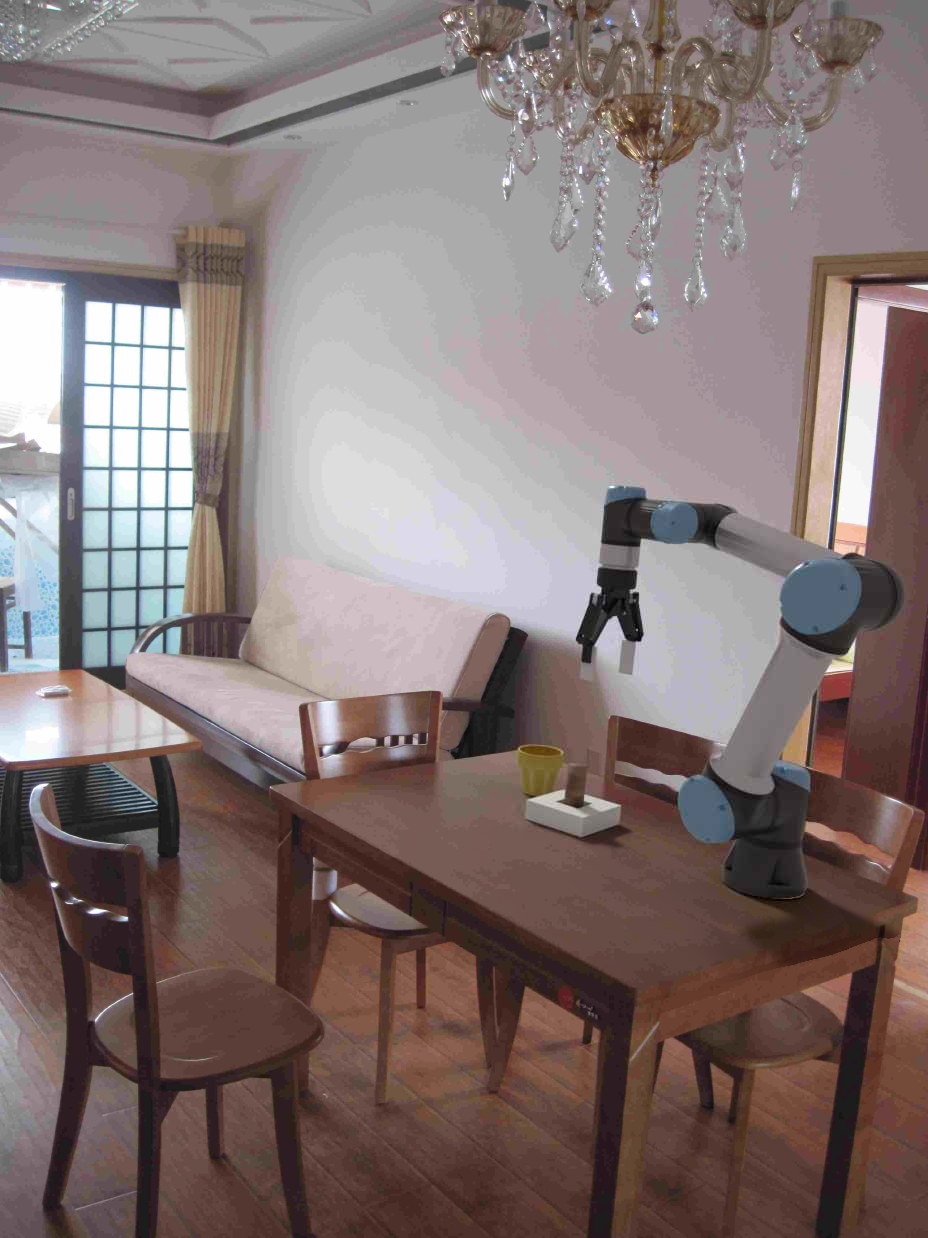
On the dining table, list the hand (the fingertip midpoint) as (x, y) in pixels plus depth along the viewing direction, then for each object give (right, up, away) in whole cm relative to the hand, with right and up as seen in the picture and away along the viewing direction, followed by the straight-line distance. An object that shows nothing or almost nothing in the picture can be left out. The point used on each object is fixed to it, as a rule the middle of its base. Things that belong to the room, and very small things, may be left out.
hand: (606, 676), depth 221 cm
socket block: (-5, -31, +15) cm, 35 cm away
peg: (-5, -31, +15) cm, 35 cm away
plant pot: (-11, -28, +34) cm, 45 cm away
